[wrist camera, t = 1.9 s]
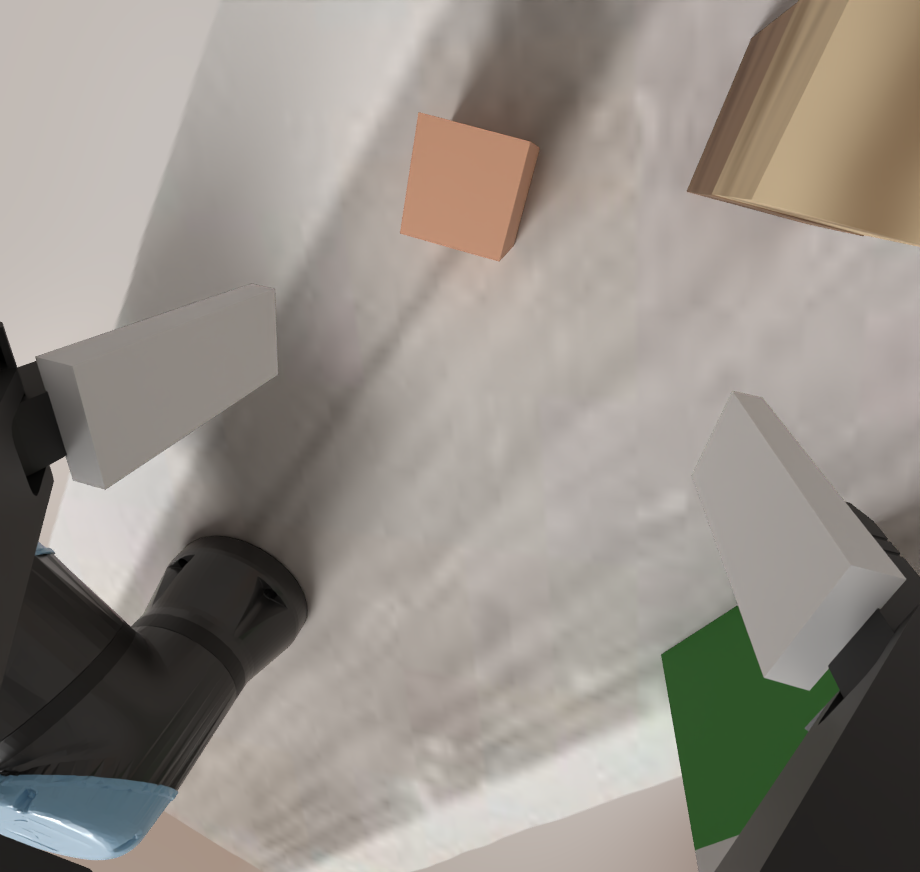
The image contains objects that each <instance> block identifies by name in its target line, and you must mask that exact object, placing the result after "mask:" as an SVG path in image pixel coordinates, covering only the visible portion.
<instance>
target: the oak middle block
mask: <svg viewBox="0 0 920 872" xmlns="http://www.w3.org/2000/svg"><path fill="white" fill-rule="evenodd" d="M712 194H713V195H716V196H720V197H724V198H728V199H731V200H735V201H739V202H742V203H746V204H750V205H754V206H757V207H761V208H765V209H769V210H772V211H776V212H780V213H784V214H787V215H791V216H795V217H798V218H802V219H806V220H810V221H813V222H817V223H821V224H825V225H828V226H832V227H836V228H839V229H843V230H847V231H851V232H854V233H858V234H862V235H866V236H871V237H876V238H880V239H885V240H890V241H895V242H899V243H904V244H909V245H914V246H919V247H920V0H798V3H797V5H796V7H795V9H794V12H793V14H792V16H791V18H790V21H789V23H788V25H787V27H786V29H785V32H784V34H783V36H782V38H781V41H780V43H779V45H778V47H777V50H776V52H775V54H774V56H773V58H772V61H771V63H770V65H769V67H768V70H767V72H766V74H765V76H764V79H763V81H762V83H761V85H760V88H759V90H758V92H757V94H756V96H755V99H754V101H753V103H752V105H751V108H750V110H749V112H748V114H747V117H746V119H745V121H744V123H743V125H742V128H741V130H740V132H739V134H738V137H737V139H736V141H735V143H734V146H733V148H732V150H731V152H730V155H729V157H728V159H727V161H726V163H725V166H724V168H723V170H722V172H721V175H720V177H719V179H718V181H717V184H716V186H715V188H714V190H713V192H712Z"/></svg>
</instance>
